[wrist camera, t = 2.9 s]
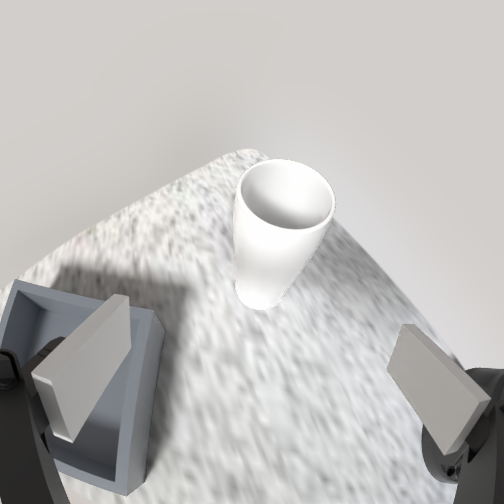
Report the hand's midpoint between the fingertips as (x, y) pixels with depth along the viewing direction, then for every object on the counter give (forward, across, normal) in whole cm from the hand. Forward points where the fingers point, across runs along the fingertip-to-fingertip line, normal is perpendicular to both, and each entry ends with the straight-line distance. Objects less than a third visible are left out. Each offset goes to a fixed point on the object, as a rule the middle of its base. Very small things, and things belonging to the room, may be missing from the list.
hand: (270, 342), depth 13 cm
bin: (+8, -16, -14) cm, 23 cm away
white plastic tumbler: (+18, +1, -4) cm, 19 cm away
